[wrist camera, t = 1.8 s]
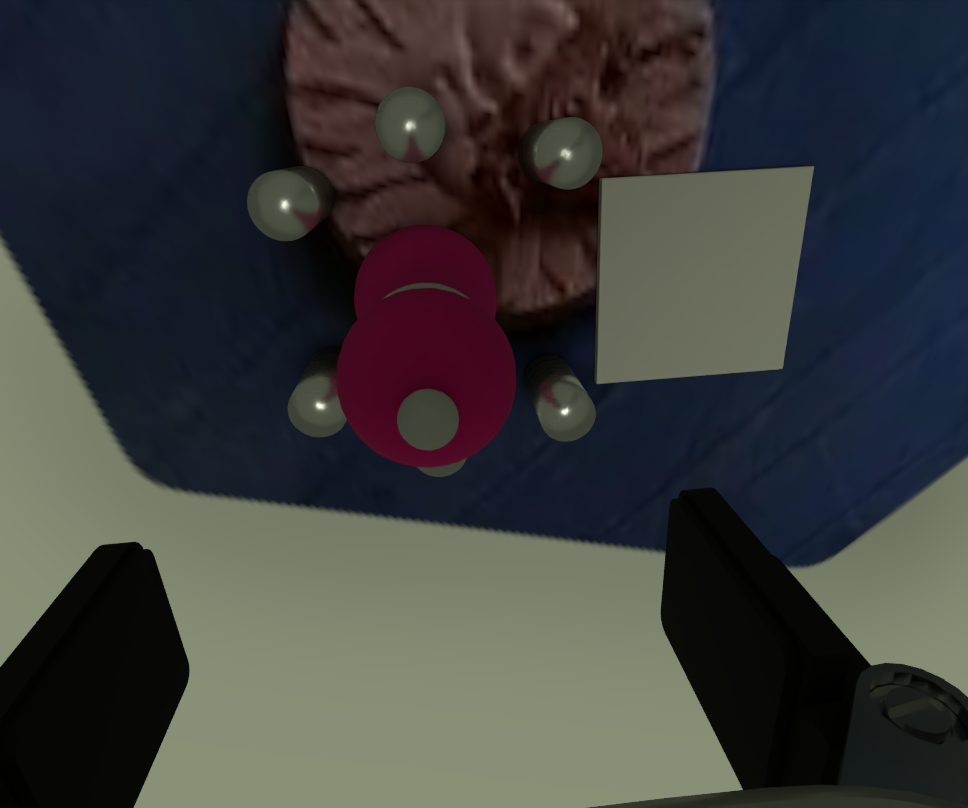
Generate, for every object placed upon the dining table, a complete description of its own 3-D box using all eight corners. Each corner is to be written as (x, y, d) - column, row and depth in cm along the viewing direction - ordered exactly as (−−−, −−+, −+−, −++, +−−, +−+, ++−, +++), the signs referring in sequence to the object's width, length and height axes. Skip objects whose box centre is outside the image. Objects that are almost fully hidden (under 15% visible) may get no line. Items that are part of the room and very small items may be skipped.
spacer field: (573, 88, 32) (604, 77, 26) (570, 418, 39) (594, 463, 34) (261, 104, 31) (225, 95, 25) (320, 439, 38) (303, 489, 33)
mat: (807, 166, 34) (813, 166, 34) (777, 365, 39) (782, 368, 39) (599, 178, 34) (602, 179, 33) (594, 380, 38) (596, 383, 38)
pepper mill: (431, 364, 37) (437, 582, 19) (336, 284, 35) (236, 443, 16) (514, 277, 35) (610, 422, 17) (420, 187, 33) (416, 242, 15)
